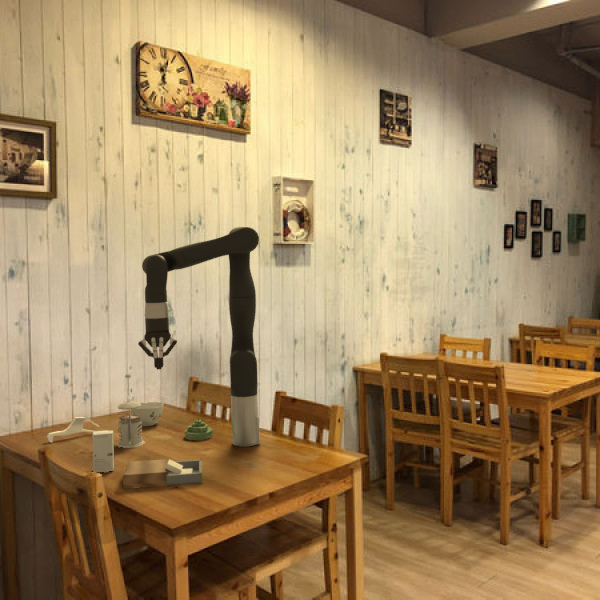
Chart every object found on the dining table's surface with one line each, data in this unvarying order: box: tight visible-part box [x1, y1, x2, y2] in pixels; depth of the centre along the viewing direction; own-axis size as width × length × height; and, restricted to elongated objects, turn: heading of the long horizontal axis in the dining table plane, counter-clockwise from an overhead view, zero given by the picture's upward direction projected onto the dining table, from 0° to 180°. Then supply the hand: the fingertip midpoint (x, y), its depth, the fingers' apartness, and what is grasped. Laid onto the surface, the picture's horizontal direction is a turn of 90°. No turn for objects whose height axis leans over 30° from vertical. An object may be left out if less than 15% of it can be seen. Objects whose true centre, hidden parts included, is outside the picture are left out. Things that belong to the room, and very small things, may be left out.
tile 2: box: [180, 468, 193, 474], centre depth 188 cm, size 4×4×2 cm
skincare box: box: [91, 429, 115, 473], centre depth 197 cm, size 6×4×12 cm
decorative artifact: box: [184, 417, 214, 441], centre depth 232 cm, size 10×7×10 cm
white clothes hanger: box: [46, 416, 101, 444], centre depth 235 cm, size 2×11×18 cm
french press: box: [116, 373, 146, 449], centre depth 224 cm, size 10×12×25 cm
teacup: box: [130, 401, 164, 427], centre depth 252 cm, size 15×12×8 cm
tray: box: [166, 459, 203, 487], centre depth 189 cm, size 10×13×3 cm
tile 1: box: [165, 458, 183, 474], centre depth 187 cm, size 4×4×2 cm
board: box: [122, 458, 169, 489], centre depth 187 cm, size 12×12×4 cm
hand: (159, 368), depth 209 cm, fingers closed
